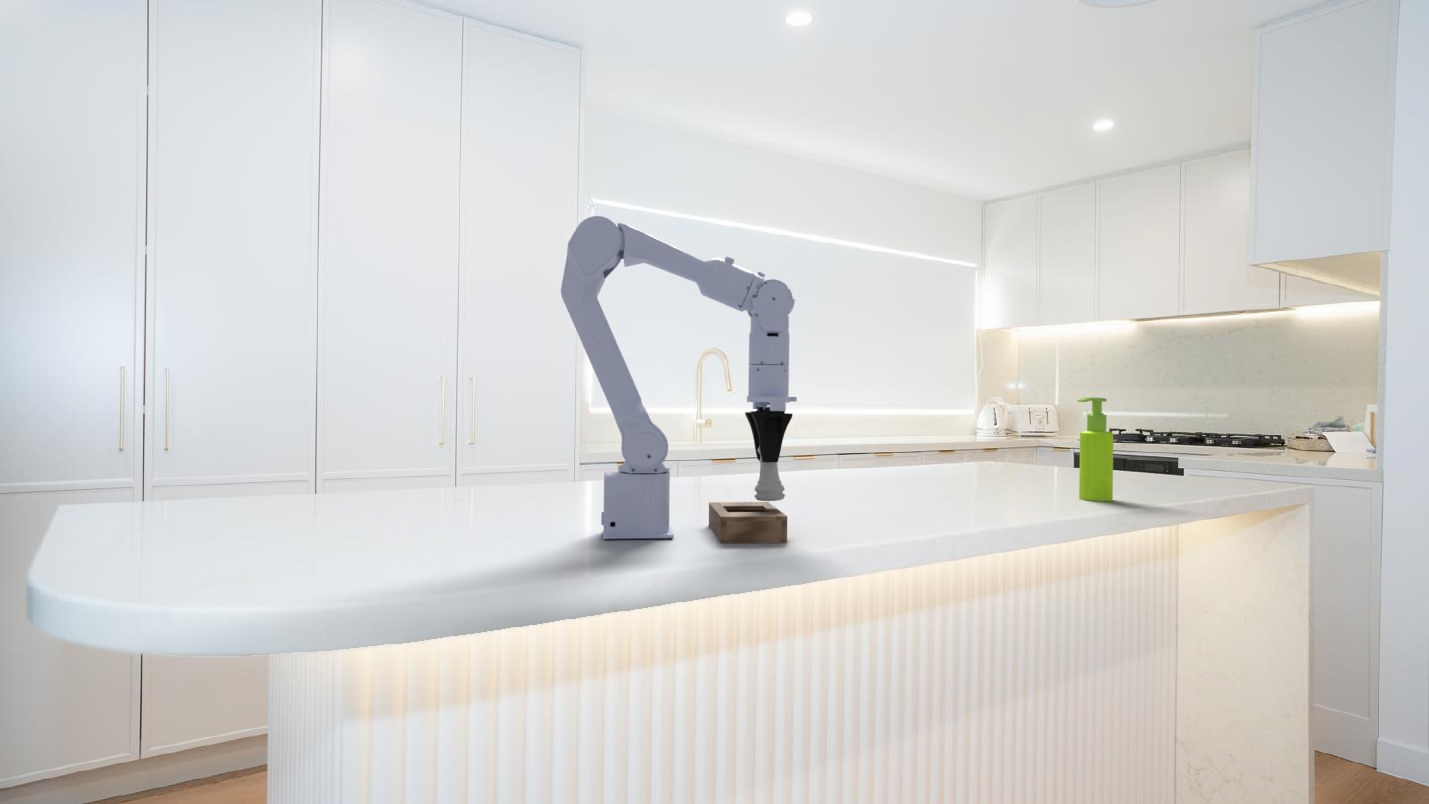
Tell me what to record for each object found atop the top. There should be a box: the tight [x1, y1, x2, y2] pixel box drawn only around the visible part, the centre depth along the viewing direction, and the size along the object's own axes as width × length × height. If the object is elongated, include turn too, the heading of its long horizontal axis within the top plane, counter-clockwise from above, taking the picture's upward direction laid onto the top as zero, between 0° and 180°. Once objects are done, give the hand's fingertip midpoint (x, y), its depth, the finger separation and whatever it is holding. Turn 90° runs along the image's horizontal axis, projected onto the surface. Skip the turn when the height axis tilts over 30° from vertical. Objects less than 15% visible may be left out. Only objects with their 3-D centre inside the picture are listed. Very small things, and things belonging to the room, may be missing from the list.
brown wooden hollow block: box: [708, 501, 788, 544], centre depth 110 cm, size 9×14×4 cm, turn 7°
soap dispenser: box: [1077, 397, 1114, 502], centre depth 152 cm, size 6×7×20 cm
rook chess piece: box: [753, 445, 786, 502], centre depth 110 cm, size 4×4×8 cm
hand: (767, 461), depth 110 cm, fingers closed on rook chess piece, 3 cm apart
